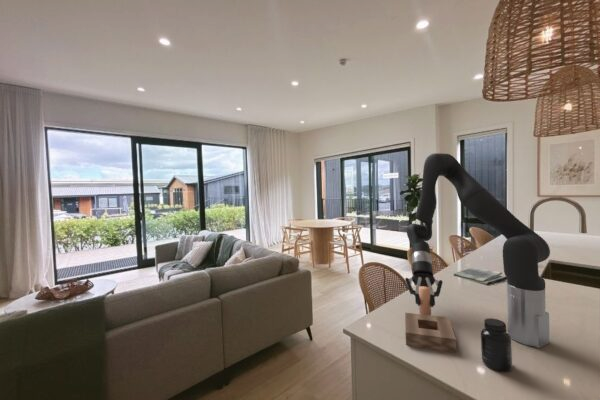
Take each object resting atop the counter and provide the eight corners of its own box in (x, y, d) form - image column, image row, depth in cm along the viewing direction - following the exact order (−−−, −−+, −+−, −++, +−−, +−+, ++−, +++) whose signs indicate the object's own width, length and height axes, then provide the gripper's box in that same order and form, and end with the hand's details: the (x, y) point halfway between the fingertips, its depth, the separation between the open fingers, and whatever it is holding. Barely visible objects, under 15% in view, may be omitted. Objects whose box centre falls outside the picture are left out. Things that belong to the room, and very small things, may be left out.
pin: (433, 314, 100) (432, 288, 99) (426, 317, 98) (425, 290, 98) (424, 310, 103) (423, 285, 103) (417, 312, 102) (416, 287, 101)
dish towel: (452, 276, 145) (452, 270, 145) (472, 270, 153) (472, 265, 153) (488, 286, 128) (488, 280, 128) (509, 279, 136) (509, 273, 136)
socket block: (448, 328, 92) (448, 317, 92) (456, 352, 79) (455, 339, 79) (405, 323, 98) (405, 312, 97) (406, 344, 84) (405, 332, 84)
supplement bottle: (498, 355, 77) (497, 315, 76) (518, 372, 70) (518, 327, 70) (475, 357, 77) (474, 317, 76) (493, 373, 70) (492, 329, 69)
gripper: (403, 259, 110) (404, 299, 99) (441, 260, 105) (447, 303, 94) (403, 268, 115) (405, 307, 104) (440, 270, 110) (446, 311, 99)
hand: (425, 305), depth 99 cm, fingers closed on pin, 4 cm apart
